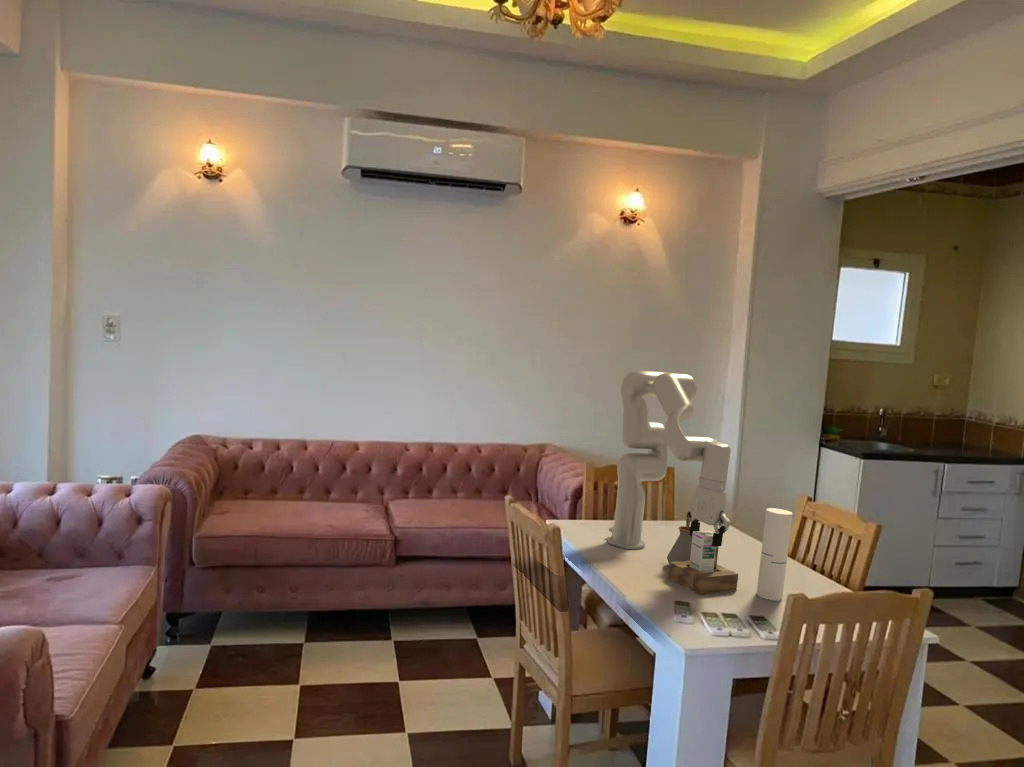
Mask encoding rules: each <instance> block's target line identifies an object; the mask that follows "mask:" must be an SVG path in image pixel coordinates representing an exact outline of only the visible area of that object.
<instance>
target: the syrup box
mask: <svg viewBox="0 0 1024 767" xmlns="http://www.w3.org/2000/svg"><path fill="white" fill-rule="evenodd" d="M714 533H715V532H713V531H710V530H705V531H704V530H702V531H701V530H700V531H693V535H692V546H691V557H690V567H691V568H693V569H695V570H697V571H699V572H701V573H709V572H716V567H717V565H718V556H719V555H718V554H719V547H720V546H717V547H713V546H712V540H713V534H714Z"/></svg>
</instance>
